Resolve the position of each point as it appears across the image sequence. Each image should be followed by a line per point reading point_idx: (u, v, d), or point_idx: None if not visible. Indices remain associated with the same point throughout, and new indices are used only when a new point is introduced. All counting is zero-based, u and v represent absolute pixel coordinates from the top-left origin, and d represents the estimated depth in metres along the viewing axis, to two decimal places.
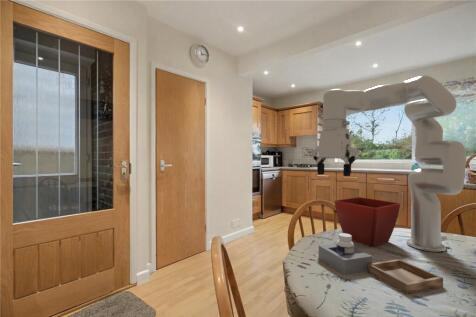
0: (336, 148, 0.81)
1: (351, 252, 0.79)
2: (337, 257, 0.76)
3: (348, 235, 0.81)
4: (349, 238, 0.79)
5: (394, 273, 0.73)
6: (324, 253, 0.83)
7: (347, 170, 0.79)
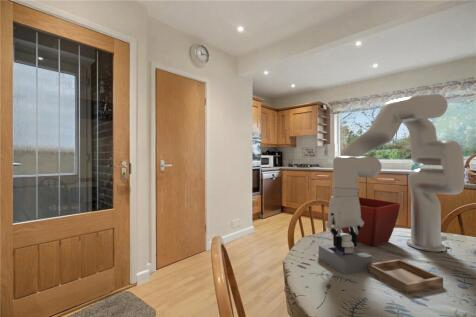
0: (355, 217, 0.80)
1: (351, 252, 0.79)
2: (337, 257, 0.76)
3: (348, 235, 0.81)
4: (349, 238, 0.79)
5: (394, 273, 0.73)
6: (324, 253, 0.83)
7: None
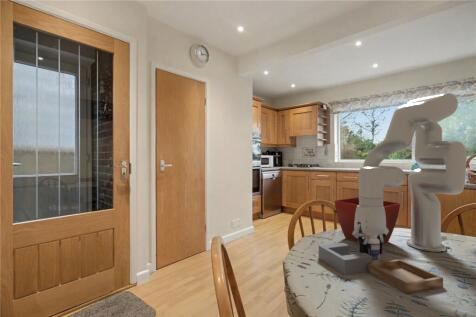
0: (381, 226, 0.83)
1: (378, 248, 0.82)
2: (337, 257, 0.76)
3: None
4: (375, 235, 0.83)
5: (394, 273, 0.73)
6: (324, 253, 0.83)
7: None
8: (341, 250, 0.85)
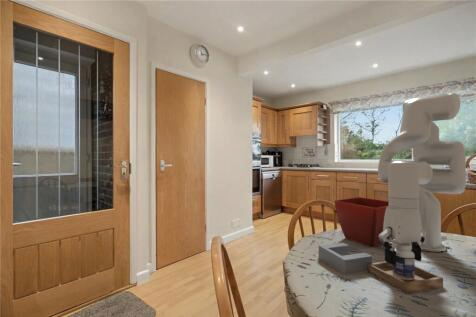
0: (416, 231, 0.69)
1: (413, 263, 0.69)
2: (337, 257, 0.76)
3: (407, 244, 0.71)
4: (409, 247, 0.69)
5: None
6: (324, 253, 0.83)
7: None
8: (341, 250, 0.85)
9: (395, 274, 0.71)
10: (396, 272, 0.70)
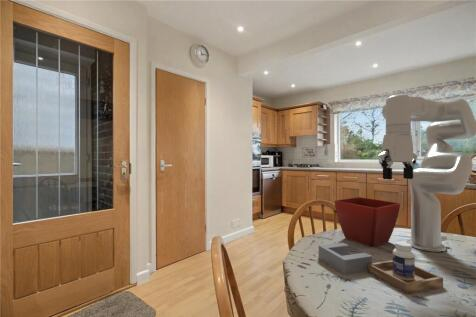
0: (409, 153, 0.84)
1: (413, 263, 0.69)
2: (337, 257, 0.76)
3: (407, 244, 0.71)
4: (409, 248, 0.69)
5: None
6: (324, 253, 0.83)
7: None
8: (341, 250, 0.85)
9: (395, 274, 0.71)
10: (396, 273, 0.70)
